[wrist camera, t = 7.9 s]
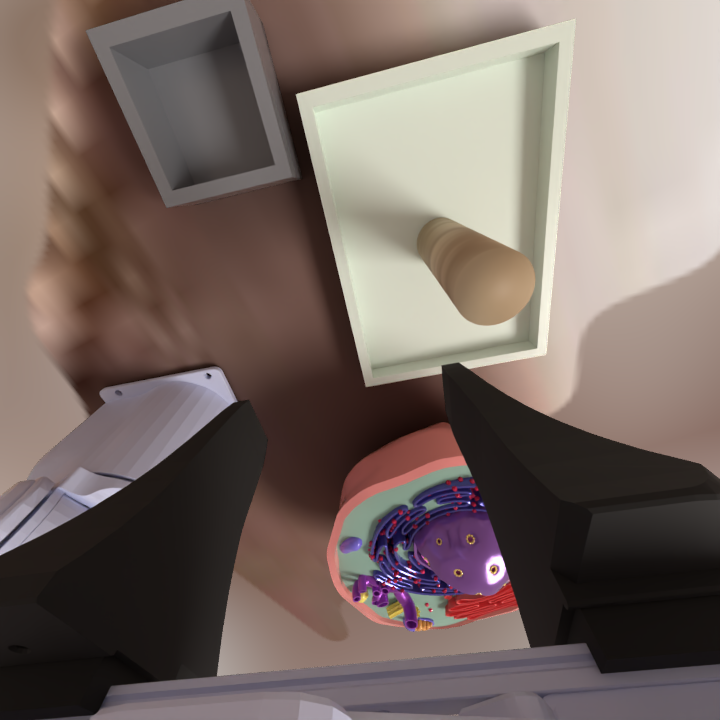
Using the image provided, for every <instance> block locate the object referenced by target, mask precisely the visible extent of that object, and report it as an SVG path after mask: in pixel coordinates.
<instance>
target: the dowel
mask: <svg viewBox="0 0 720 720" xmlns="http://www.w3.org/2000/svg"><path fill="white" fill-rule="evenodd" d="M417 250H418V253H419V255H420V257H421V258H422V259H423V261H424V262H425V264H426V265H427V267H428V268H429V270H430V271H431V272H432V274H433V275H434V277H435V278H436V280H437V281H438V282H439V284H440V285H441V287H442V288H443V290H444V291H445V293H446V294H447V295H448V297H449V298H450V300H451V301H452V303H453V304H454V305H455V307H456V308H457V310H458V311H459V313H460V314H461V315H462V316H463V317H464V318H465V319H466V320H468V321H469V322H472V323H474V324H477V325H483V326H490V325H496V324H500V323H503V322H505V321H507V320H509V319H511V318H513V317H514V316H515V315H517V314H518V313H519V312H520V311H521V310H522V309H523V308H524V307H525V306H526V304H527V303H528V302H529V300H530V298H531V296H532V294H533V291H534V287H535V272H534V268H533V266H532V264H531V262H530V261H529V259H528V258H527V257H526V256H525V255H523V254H522V253H520V252H518V251H516V250H514V249H512V248H510V247H508V246H506V245H504V244H501V243H499V242H497V241H495V240H493V239H491V238H489V237H487V236H485V235H483V234H480V233H478V232H476V231H474V230H472V229H470V228H468V227H466V226H464V225H462V224H459V223H457V222H455V221H453V220H451V219H449V218H436V219H433V220H431V221H429V222H428V223H427V224H425V225H424V227H423V228H422V229H421V231H420V233H419V235H418V238H417Z"/></svg>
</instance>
